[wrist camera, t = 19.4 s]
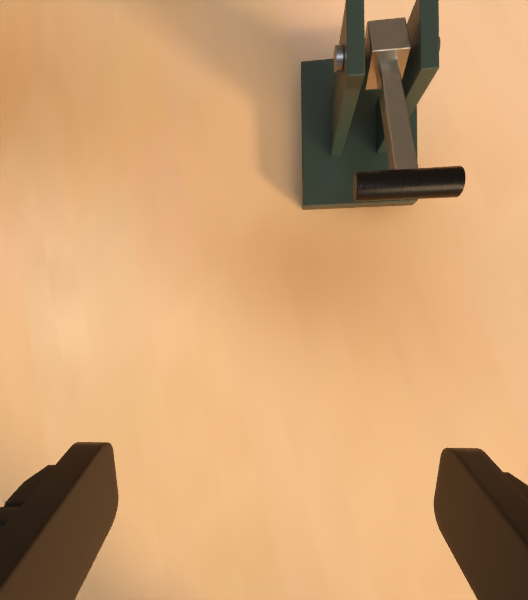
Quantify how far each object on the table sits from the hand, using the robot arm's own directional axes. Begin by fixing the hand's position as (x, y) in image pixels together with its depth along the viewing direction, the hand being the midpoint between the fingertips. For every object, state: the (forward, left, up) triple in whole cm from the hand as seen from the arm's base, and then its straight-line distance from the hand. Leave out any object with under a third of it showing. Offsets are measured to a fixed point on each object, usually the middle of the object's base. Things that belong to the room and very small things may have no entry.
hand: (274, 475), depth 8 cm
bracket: (-10, +17, -24) cm, 32 cm away
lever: (-7, +14, -13) cm, 20 cm away
